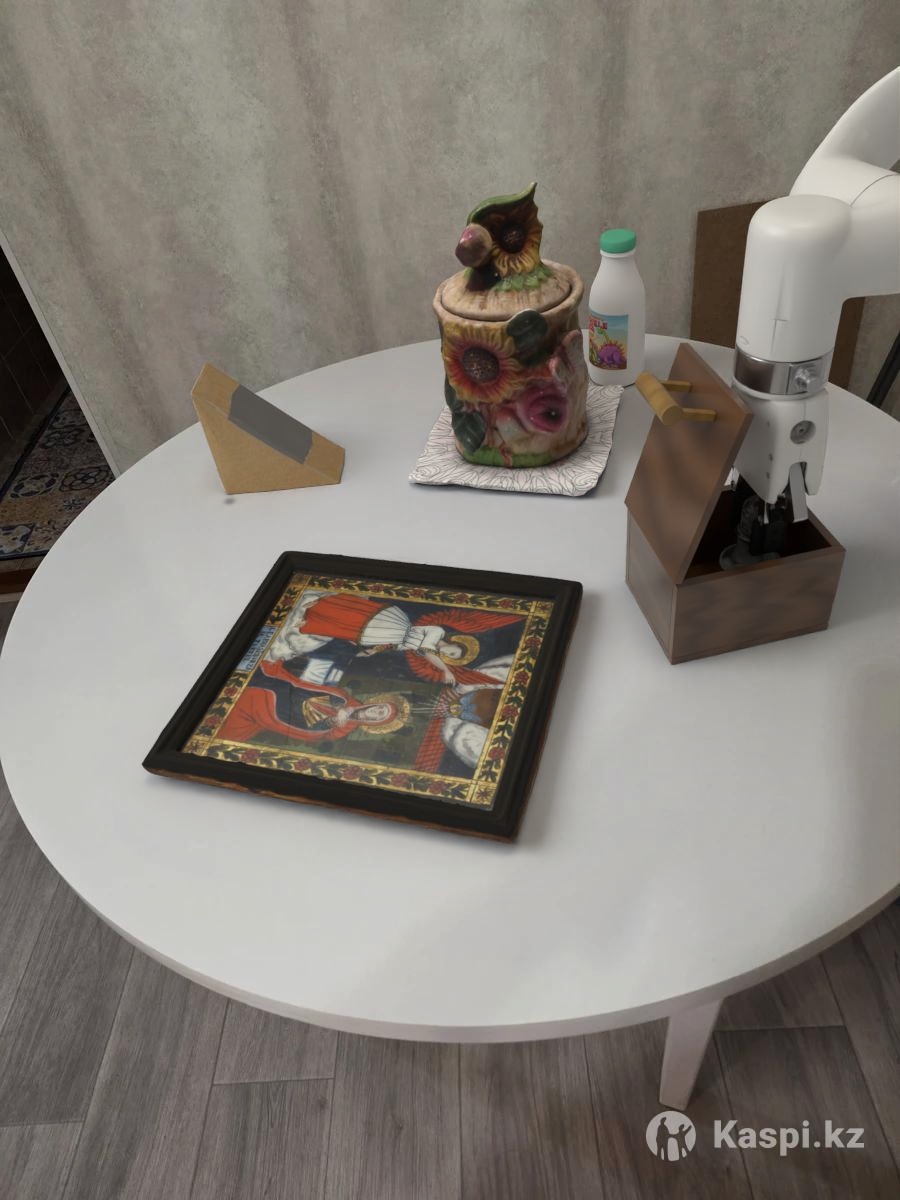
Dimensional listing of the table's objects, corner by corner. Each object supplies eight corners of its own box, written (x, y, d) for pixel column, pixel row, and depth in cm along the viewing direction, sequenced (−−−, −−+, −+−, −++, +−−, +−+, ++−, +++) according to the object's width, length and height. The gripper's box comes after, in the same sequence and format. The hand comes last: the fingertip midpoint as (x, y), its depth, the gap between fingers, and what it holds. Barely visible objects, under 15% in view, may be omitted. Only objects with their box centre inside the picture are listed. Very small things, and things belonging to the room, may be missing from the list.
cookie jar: (455, 391, 126) (426, 156, 105) (625, 397, 120) (631, 146, 98) (404, 490, 109) (356, 232, 88) (599, 503, 103) (599, 228, 81)
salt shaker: (782, 607, 85) (801, 508, 76) (720, 609, 85) (732, 511, 77) (771, 568, 89) (788, 470, 81) (712, 570, 90) (723, 473, 82)
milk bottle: (619, 357, 128) (622, 218, 115) (654, 375, 123) (661, 233, 110) (578, 374, 126) (575, 235, 113) (611, 394, 121) (613, 250, 107)
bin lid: (688, 342, 75) (629, 337, 74) (755, 414, 65) (689, 409, 64) (630, 502, 85) (578, 500, 84) (681, 584, 76) (623, 583, 74)
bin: (766, 549, 93) (778, 473, 87) (827, 629, 84) (846, 550, 77) (625, 581, 92) (627, 506, 85) (671, 665, 83) (677, 588, 76)
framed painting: (585, 570, 94) (585, 549, 92) (560, 857, 69) (559, 838, 67) (259, 562, 102) (252, 543, 100) (130, 819, 77) (117, 800, 75)
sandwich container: (340, 484, 112) (314, 379, 102) (225, 495, 113) (188, 393, 103) (346, 448, 118) (322, 346, 108) (237, 459, 120) (204, 359, 110)
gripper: (881, 400, 65) (837, 584, 77) (776, 312, 77) (752, 483, 89) (786, 421, 64) (757, 602, 76) (696, 329, 76) (683, 498, 89)
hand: (754, 536), depth 83 cm, fingers closed on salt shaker, 3 cm apart
